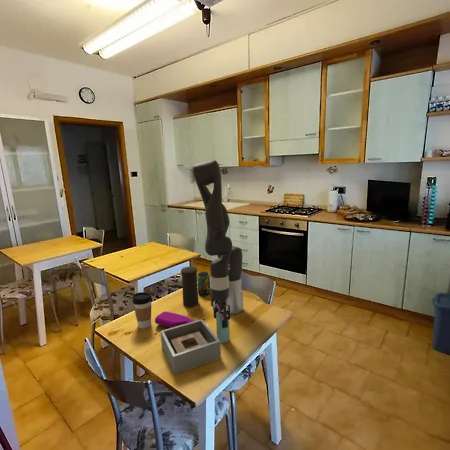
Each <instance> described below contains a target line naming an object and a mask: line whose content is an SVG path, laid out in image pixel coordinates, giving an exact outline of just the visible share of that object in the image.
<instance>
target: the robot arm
mask: <svg viewBox="0 0 450 450" xmlns="http://www.w3.org/2000/svg"><path fill="white" fill-rule="evenodd" d="M192 174H193V177H194V181H195V183H196V185H197V188H198V191H199V194H200V196H201V197H200V198H201V199H202V201H203V206H204V209H205V221H206V237H205V244H204V245H205V247H204V250H205V252H206V254H207V255H208V256H212V257H213V256H217V258H215V259H214V260H212V261H210V265H209V266H210V306H211V307H212V311H213V318H214V320H216V312H219V314H220V315H221V317H222V328H223V329H224V328H227V327H228V320H229V321H231V315H236V314H239V313H241V312H242V311H244V293H243V291H242V273H243V251H242V249H241V247H238V246H233V242H232V239H231V237H229V236H227V232H228V229H229V227H230V217H229V214H228V210H227V207H226V206H225V205H224V204H223V197H222V196H223V195H222V193H223V192H222V191H223V190H222V189H223V188H222V186H223V185H222V173H221V167H220V165H219V163H218V161H217V160H214V159H213V160H208V161H205V162H200V163H196V164H194V165H192ZM210 184H211V185H212V184H213V188H212V193H211V191H210V189H209V188H208V186H207V185H210ZM221 311H223V312H221ZM223 316H224V317H223Z"/></svg>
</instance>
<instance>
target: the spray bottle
mask: <svg viewBox="0 0 450 450" xmlns="http://www.w3.org/2000/svg"><path fill="white" fill-rule="evenodd" d="M194 321H195V320H194V319H192V318H190V317H188V316H186V315H183V314H179V313H176V312H171V311H163V312H161V313H159V314H158V315H157V316H155V319H154V323H155V324H156V325H160V326H164V327H167V328H173V327H176V326H180V325H183V324H187V323H190V322H194ZM206 325H207V326H208V327H209V324H207V323H206ZM209 328H210V327H209Z"/></svg>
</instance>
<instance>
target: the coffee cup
mask: <svg viewBox="0 0 450 450" xmlns="http://www.w3.org/2000/svg"><path fill="white" fill-rule="evenodd" d="M132 304H133V309H134V314H135V318H136V322H137V327H138V328H139V329H147V328H149V327H151V325H152V295H151V293H149V292H145V291H143V292H136V293H134V294H133V295H132Z"/></svg>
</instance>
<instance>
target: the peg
mask: <svg viewBox="0 0 450 450" xmlns="http://www.w3.org/2000/svg"><path fill="white" fill-rule="evenodd" d="M221 312H223V310H222V311H221ZM223 317H224V316H223ZM215 320H216V337H217V338H218V339H219V340H220V344H224V343H228V342H229V341H231V337H230V335H231V334H230V332H231V331H230V320H228V327H227V328H224V329H223V328H222V317H221V315H220V314H219V312H216V319H215Z"/></svg>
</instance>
